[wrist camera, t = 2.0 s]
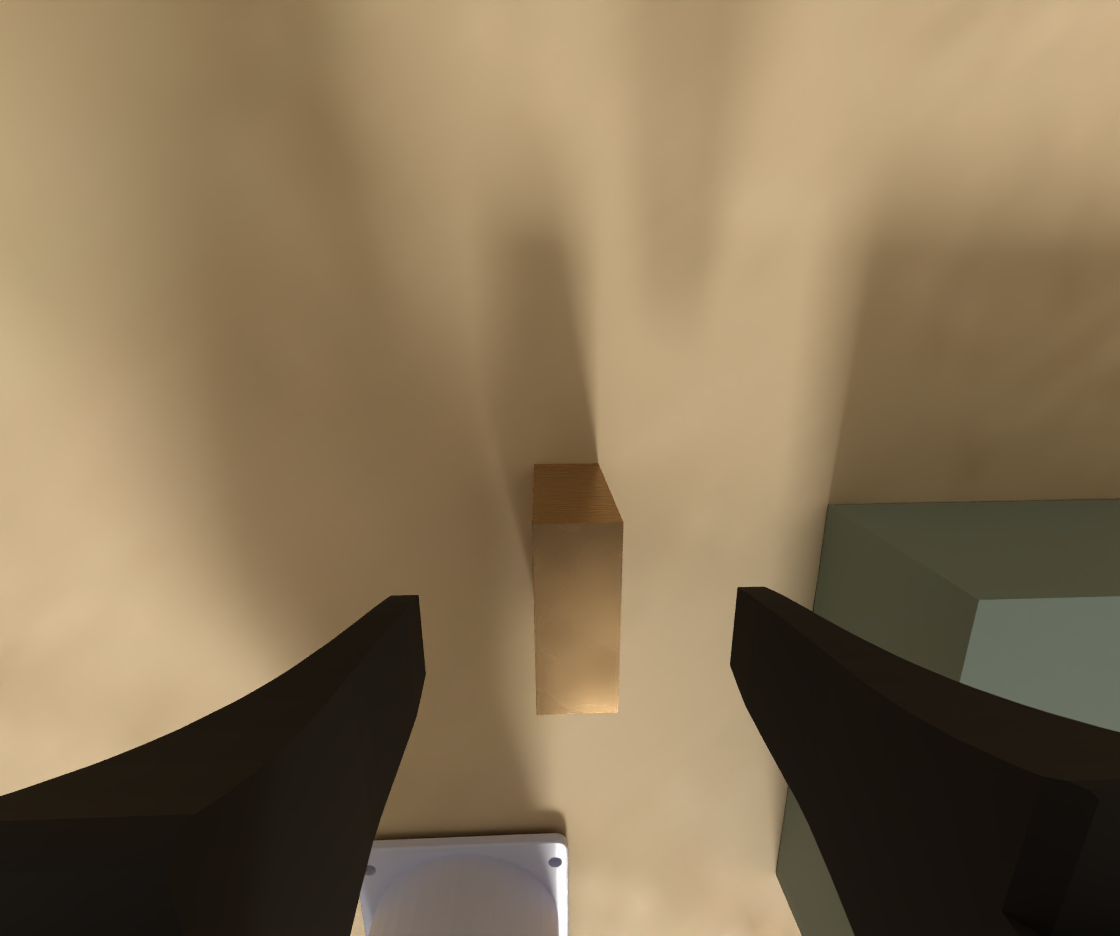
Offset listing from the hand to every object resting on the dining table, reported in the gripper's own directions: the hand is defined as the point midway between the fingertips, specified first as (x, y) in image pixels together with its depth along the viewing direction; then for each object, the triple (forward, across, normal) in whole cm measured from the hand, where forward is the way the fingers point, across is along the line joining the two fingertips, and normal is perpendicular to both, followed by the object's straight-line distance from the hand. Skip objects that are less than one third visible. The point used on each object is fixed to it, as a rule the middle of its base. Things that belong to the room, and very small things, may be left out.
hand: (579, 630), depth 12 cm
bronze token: (+5, 0, 0) cm, 5 cm away
